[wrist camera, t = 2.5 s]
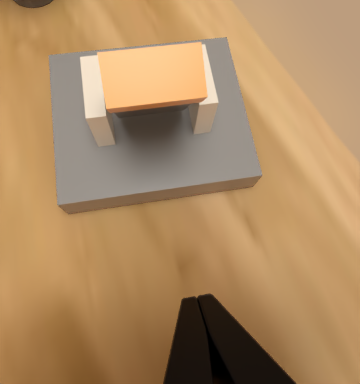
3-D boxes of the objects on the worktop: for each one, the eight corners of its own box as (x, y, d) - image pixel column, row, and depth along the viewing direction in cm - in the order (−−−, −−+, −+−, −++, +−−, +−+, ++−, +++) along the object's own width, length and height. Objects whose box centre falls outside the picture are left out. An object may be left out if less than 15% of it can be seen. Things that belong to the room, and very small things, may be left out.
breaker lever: (183, 116, 23) (207, 97, 14) (120, 124, 23) (106, 109, 14) (179, 83, 23) (201, 41, 14) (114, 90, 22) (97, 52, 14)
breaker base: (252, 186, 25) (281, 152, 19) (68, 214, 23) (35, 186, 17) (221, 58, 28) (237, -5, 22) (59, 76, 27) (28, 13, 21)
